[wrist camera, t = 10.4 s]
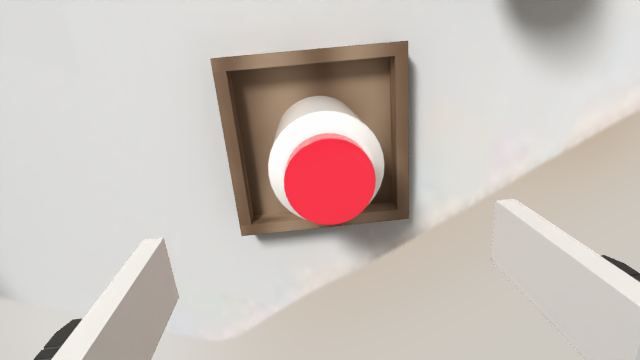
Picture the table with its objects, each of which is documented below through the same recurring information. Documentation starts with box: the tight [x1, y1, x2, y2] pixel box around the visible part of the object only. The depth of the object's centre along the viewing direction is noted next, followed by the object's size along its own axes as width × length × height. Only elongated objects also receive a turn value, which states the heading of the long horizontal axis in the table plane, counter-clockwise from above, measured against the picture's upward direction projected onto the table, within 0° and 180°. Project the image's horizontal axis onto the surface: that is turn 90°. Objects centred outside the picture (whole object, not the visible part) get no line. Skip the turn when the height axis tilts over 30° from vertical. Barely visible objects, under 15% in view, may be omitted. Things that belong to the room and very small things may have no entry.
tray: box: [210, 41, 409, 236], centre depth 31 cm, size 15×15×2 cm
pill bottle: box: [268, 96, 384, 225], centre depth 27 cm, size 8×8×11 cm
